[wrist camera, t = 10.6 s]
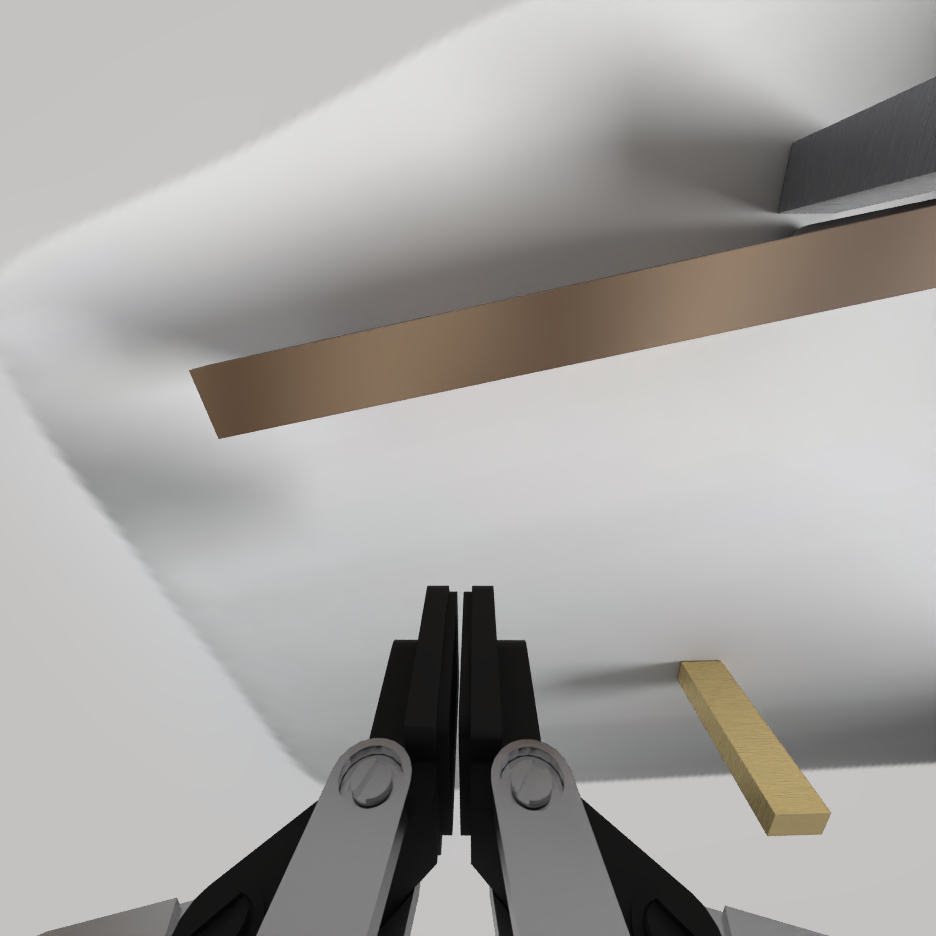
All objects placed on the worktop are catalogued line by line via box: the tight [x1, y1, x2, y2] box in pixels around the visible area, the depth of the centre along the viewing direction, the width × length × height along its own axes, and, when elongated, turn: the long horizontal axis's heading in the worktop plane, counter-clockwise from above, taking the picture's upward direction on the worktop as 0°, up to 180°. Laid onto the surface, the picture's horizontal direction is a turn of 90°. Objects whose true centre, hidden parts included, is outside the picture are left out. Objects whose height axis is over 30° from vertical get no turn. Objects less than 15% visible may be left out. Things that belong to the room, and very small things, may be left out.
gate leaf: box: [189, 199, 936, 439], centre depth 12 cm, size 19×2×7 cm, turn 102°
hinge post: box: [778, 77, 936, 213], centre depth 11 cm, size 2×2×7 cm
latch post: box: [678, 661, 831, 836], centre depth 19 cm, size 2×1×7 cm, turn 90°
